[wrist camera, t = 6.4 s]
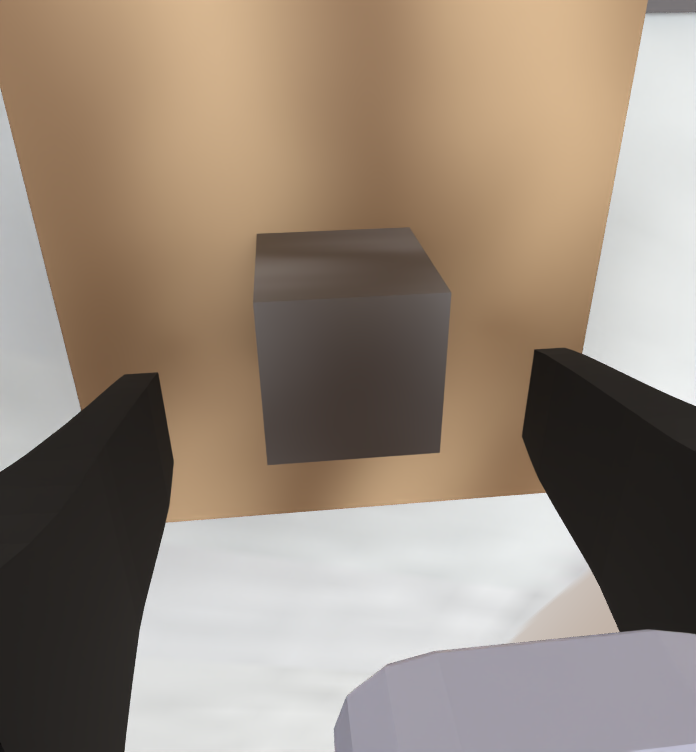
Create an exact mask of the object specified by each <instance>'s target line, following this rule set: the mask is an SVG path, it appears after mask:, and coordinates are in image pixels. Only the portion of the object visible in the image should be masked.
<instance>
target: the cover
mask: <svg viewBox="0 0 696 752" xmlns="http://www.w3.org/2000/svg"><path fill="white" fill-rule="evenodd" d="M647 2H648V0H0V88H1V92H2V96H3V100H4V104H5V108H6V112H7V116H8V120H9V124H10V128H11V132H12V136H13V140H14V144H15V148H16V152H17V156H18V160H19V164H20V168H21V172H22V176H23V180H24V184H25V188H26V192H27V196H28V200H29V204H30V208H31V212H32V216H33V220H34V224H35V228H36V231H37V235H38V239H39V243H40V247H41V251H42V255H43V259H44V263H45V267H46V271H47V275H48V279H49V283H50V287H51V291H52V295H53V299H54V303H55V307H56V311H57V315H58V319H59V323H60V327H61V331H62V335H63V339H64V343H65V347H66V351H67V355H68V359H69V363H70V367H71V371H72V375H73V379H74V383H75V387H76V391H77V395H78V399H79V403H80V407H81V411H82V410H83V409H84V408H85V407H86V406H88V405H89V404H90V403H91V402H92V401H93V400H95V399H96V398H97V397H98V396H99V395H100V394H101V393H103V392H104V391H105V390H106V389H107V388H108V387H109V386H111V385H112V384H113V383H114V382H115V381H117V380H118V379H119V378H120V377H122V376H123V375H124V374H138V373H154V372H158V374H159V379H160V385H161V391H162V396H163V402H164V408H165V413H166V419H167V425H168V431H169V436H170V442H171V448H172V453H173V459H174V467H173V478H172V488H171V497H170V506H169V510H168V514H167V519H166V522H179V521H191V520H204V519H217V518H229V517H242V516H255V515H268V514H280V513H293V512H306V511H318V510H331V509H344V508H356V507H369V506H382V505H395V504H407V503H420V502H433V501H445V500H458V499H471V498H484V497H496V496H509V495H522V494H534V493H546V491H545V490H544V488H543V486H542V484H541V483H540V481H539V479H538V477H537V475H536V472H535V470H534V467H533V465H532V462H531V460H530V457H529V455H528V452H527V449H526V447H525V444H524V441H523V439H522V431H523V424H524V417H525V410H526V403H527V396H528V390H529V383H530V376H531V369H532V362H533V355H534V349H548V348H564V347H565V348H568V349H571V350H574V351H576V352H579V353H581V354H582V351H583V345H584V340H585V334H586V329H587V324H588V318H589V313H590V308H591V302H592V297H593V292H594V286H595V281H596V276H597V270H598V265H599V259H600V254H601V249H602V243H603V238H604V233H605V227H606V222H607V217H608V211H609V206H610V201H611V195H612V190H613V184H614V179H615V174H616V168H617V163H618V158H619V152H620V147H621V142H622V136H623V131H624V126H625V120H626V115H627V110H628V104H629V99H630V93H631V88H632V83H633V77H634V72H635V67H636V61H637V56H638V51H639V45H640V40H641V35H642V29H643V24H644V18H645V13H646V8H647Z"/></svg>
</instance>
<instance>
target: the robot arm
mask: <svg viewBox="0 0 696 752" xmlns="http://www.w3.org/2000/svg"><path fill="white" fill-rule="evenodd" d="M522 439H523V441H524V444H525V447H526V449H527V452H528V455H529V457H530V460H531V462H532V465H533V467H534V470H535V472H536V475H537V477H538V479H539V481H540V483H541V484H542V486H543V488H544V490H545V491H546V493H547V495H548V497H549V498H550V500H551V502H552V504H553V505H554V507H555V509H556V511H557V512H558V514H559V516H560V517H561V519H562V521H563V523H564V524H565V526H566V528H567V529H568V531H569V533H570V534H571V536H572V538H573V540H574V541H575V543H576V545H577V546H578V548H579V550H580V551H581V553H582V555H583V557H584V558H585V560H586V562H587V563H588V565H589V567H590V569H591V571H592V573H593V575H594V576H595V578H596V580H597V582H598V584H599V586H600V588H601V590H602V593H603V595H604V597H605V599H606V601H607V604H608V606H609V609H610V611H611V613H612V615H613V618H614V620H615V622H616V624H617V627H618V629H619V631H620V632H618V633H608V634H599V635H589V636H579V637H569V638H559V639H549V640H540V641H530V642H520V643H510V644H501V645H491V646H481V647H471V648H462V649H452V650H442V651H433V652H430V653H426V654H422V655H419V656H415V657H412V658H408V659H405V660H401V661H397V662H394V663H390V664H387V665H386V666H385V667H383V668H382V669H381V670H379V671H378V672H377V673H375V674H374V675H373V676H371V677H370V678H369V679H367V680H366V681H365V682H363V683H362V684H361V685H359V686H358V687H357V688H355V689H354V690H353V691H352V692H351V693H350V694H348V695H347V696H346V699H345V701H344V704H343V707H342V709H341V712H340V714H339V717H338V720H337V722H336V725H335V727H334V746H335V752H696V406H694V405H692V404H689V403H687V402H684V401H682V400H680V399H677V398H675V397H673V396H670V395H668V394H666V393H664V392H662V391H659V390H657V389H655V388H653V387H651V386H649V385H647V384H644V383H642V382H640V381H638V380H636V379H634V378H632V377H630V376H628V375H626V374H624V373H622V372H620V371H617V370H615V369H613V368H611V367H609V366H607V365H605V364H603V363H601V362H599V361H597V360H595V359H592V358H590V357H588V356H586V355H583V354H581V353H579V352H576V351H574V350H571V349H568V348H565V347H564V348H548V349H534V355H533V362H532V369H531V376H530V383H529V390H528V396H527V403H526V410H525V417H524V424H523V431H522ZM173 467H174V459H173V453H172V448H171V442H170V436H169V431H168V425H167V419H166V413H165V408H164V402H163V396H162V391H161V385H160V379H159V374H158V372H154V373H138V374H124V375H123V376H122V377H120V378H119V379H118V380H117V381H115V382H114V383H113V384H112V385H111V386H109V387H108V388H107V389H106V390H105V391H104V392H103V393H101V394H100V395H99V396H98V397H97V398H96V399H95V400H93V401H92V402H91V403H90V404H89V405H88V406H86V407H85V408H84V409H83V410H82V411H81V412H79V413H78V414H77V415H76V416H75V417H73V418H72V419H71V420H70V421H69V422H68V423H66V424H65V425H64V426H63V427H61V428H60V429H59V430H58V431H56V432H55V433H54V434H52V435H51V436H50V437H48V438H47V439H46V440H44V441H43V442H42V443H41V444H39V445H38V446H37V447H35V448H34V449H33V450H31V451H30V452H29V453H27V454H26V455H25V456H23V457H22V458H20V459H19V460H18V461H16V462H15V463H13V464H12V465H10V466H9V467H7V468H6V469H4V470H3V471H1V472H0V752H124V750H125V740H126V731H127V723H128V715H129V706H130V698H131V690H132V681H133V674H134V667H135V659H136V652H137V645H138V638H139V630H140V625H141V620H142V616H143V611H144V606H145V602H146V598H147V594H148V590H149V586H150V582H151V578H152V574H153V570H154V567H155V563H156V559H157V555H158V551H159V547H160V543H161V539H162V535H163V531H164V527H165V523H166V519H167V514H168V510H169V506H170V497H171V488H172V478H173Z"/></svg>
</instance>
